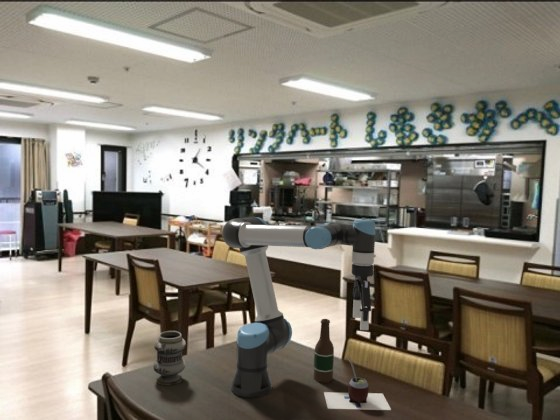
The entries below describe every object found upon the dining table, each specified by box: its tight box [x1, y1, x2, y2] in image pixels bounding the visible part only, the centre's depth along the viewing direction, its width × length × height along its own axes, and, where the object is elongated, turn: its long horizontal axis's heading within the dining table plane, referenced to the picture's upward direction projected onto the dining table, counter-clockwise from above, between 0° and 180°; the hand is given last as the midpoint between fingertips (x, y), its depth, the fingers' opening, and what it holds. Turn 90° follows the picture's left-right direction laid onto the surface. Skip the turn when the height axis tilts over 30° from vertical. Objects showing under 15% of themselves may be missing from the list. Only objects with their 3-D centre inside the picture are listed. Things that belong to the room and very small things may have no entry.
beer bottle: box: [313, 318, 335, 384], centre depth 180 cm, size 8×8×24 cm
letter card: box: [323, 391, 392, 411], centre depth 163 cm, size 22×12×1 cm, turn 91°
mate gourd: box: [345, 356, 370, 406], centre depth 162 cm, size 8×8×15 cm
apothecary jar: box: [152, 330, 187, 386], centre depth 175 cm, size 12×12×18 cm
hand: (360, 323), depth 160 cm, fingers open, 13 cm apart
